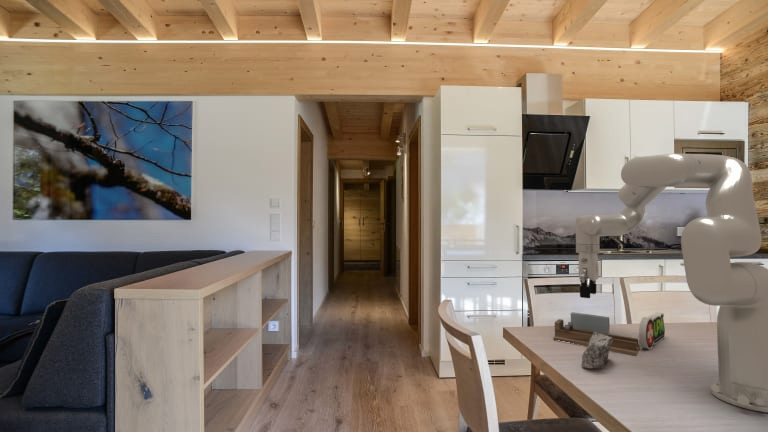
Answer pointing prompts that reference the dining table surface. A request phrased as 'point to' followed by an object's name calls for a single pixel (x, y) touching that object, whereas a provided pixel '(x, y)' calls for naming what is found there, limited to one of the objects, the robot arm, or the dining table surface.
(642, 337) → the sign
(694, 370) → the dining table surface
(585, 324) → the panel
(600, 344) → the rock
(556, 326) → the rail
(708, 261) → the robot arm
